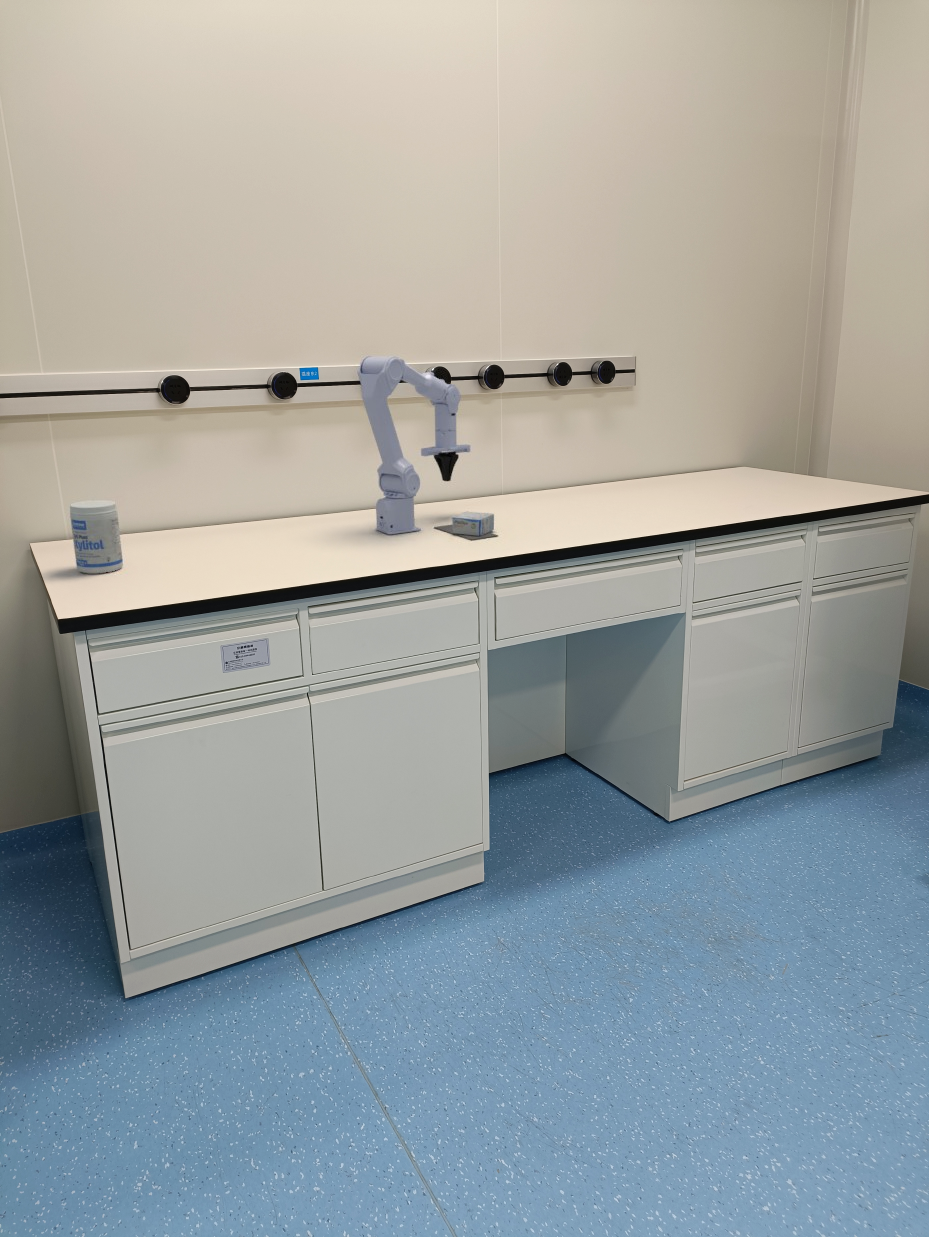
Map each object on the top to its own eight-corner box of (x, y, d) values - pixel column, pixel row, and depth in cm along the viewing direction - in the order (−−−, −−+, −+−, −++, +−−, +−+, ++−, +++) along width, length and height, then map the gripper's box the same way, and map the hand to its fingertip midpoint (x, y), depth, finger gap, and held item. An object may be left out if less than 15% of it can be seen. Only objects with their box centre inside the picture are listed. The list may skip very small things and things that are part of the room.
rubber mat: (471, 540, 221) (471, 539, 221) (433, 528, 235) (433, 527, 235) (498, 536, 225) (498, 535, 225) (459, 524, 239) (459, 523, 239)
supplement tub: (73, 576, 192) (63, 508, 188) (82, 565, 201) (72, 500, 197) (120, 573, 194) (111, 506, 190) (127, 563, 203) (119, 498, 199)
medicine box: (467, 527, 234) (451, 534, 227) (467, 510, 233) (451, 516, 226) (494, 530, 231) (479, 537, 223) (494, 513, 229) (479, 519, 222)
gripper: (430, 433, 233) (431, 485, 237) (476, 429, 241) (476, 480, 245) (416, 430, 239) (417, 481, 243) (462, 427, 246) (462, 476, 251)
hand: (446, 480), depth 244 cm, fingers closed
